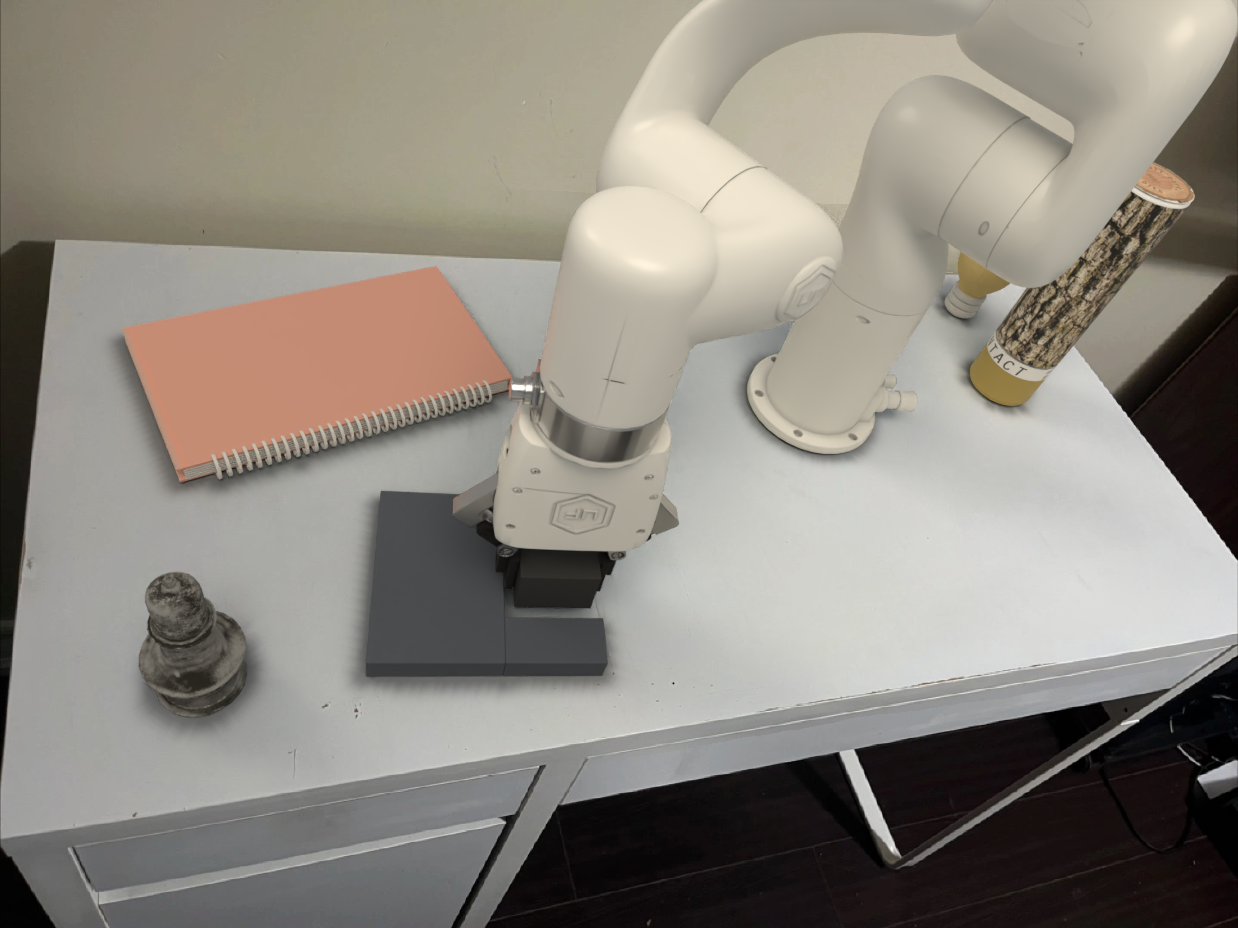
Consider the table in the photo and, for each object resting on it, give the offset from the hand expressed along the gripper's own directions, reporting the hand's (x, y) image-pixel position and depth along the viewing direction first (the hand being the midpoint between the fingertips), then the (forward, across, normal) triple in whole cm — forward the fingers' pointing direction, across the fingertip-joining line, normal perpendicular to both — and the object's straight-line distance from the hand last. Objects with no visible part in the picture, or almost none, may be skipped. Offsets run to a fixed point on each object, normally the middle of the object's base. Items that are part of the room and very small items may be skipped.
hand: (551, 572), depth 62 cm
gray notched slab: (+2, -4, 0) cm, 5 cm away
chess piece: (+3, -22, -7) cm, 24 cm away
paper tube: (+2, +50, +26) cm, 56 cm away
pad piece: (0, 0, 0) cm, 0 cm away
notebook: (+3, -18, +21) cm, 27 cm away
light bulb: (+2, +50, +38) cm, 63 cm away
